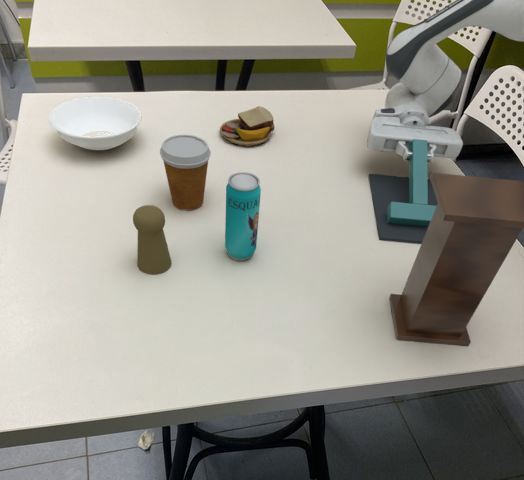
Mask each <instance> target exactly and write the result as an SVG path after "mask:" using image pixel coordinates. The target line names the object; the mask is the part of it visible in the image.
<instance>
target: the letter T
mask: <svg viewBox="0 0 524 480" xmlns="http://www.w3.org/2000/svg"><path fill="white" fill-rule="evenodd" d="M409 149H412V152H413V155H412V157H411V161H408V177H409V203H400V202H391V203H390V204H389V206H388V208H387V223H392V224H403V225H414V226H425V227H428V226H429V224H430V221H431V219H432V216H433V214H434V211H435V209H436V206H433V205H428V179H429V178H428V176H429V175H428V163H427V140H418V139H413V141H412V142H411V144H410V146H409Z"/></svg>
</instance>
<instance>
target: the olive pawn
mask: <svg viewBox="0 0 524 480" xmlns="http://www.w3.org/2000/svg"><path fill="white" fill-rule="evenodd" d="M132 223H133V226H134V228H135V229H136V230H137V252H136V253H137V255H136V258H137V262H136V264H137V265H136V266H137V268H138V270H140V271H141V273H144V274H146V275H160V274H164V273H166V272H167V271H169V269H171V266H172V264H173V263H172V258H171V254H170V251H169V245H168V243H167V239H166V235H165V231H164V228H165V226H166V215H165V213H164V211H163V210H162V209H161V208H160V207H158V206H156V205H153V204H152V205H151V204H147V205H142V206H140V207H137V209H135V210H134V212H133V215H132Z"/></svg>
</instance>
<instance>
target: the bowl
mask: <svg viewBox="0 0 524 480" xmlns="http://www.w3.org/2000/svg"><path fill="white" fill-rule="evenodd" d="M142 119H143V116H142V112H141V110H140V109H139V107H137V106H136V105H135V104H133V103H131V102H130V101H127V100H124V99H121V98H118V97H112V96H104V95H103V96H101V95H97V96H96V95H93V96H82V97H77V98H72V99H69V100H66V101H64V102H62V103H61V102H60V103H59V104H58V105H56V106H55V107H54V108H53V109H52V110H50V112H49V114H48V123H49V125H50V126H51V128H53V129H54V130H55V131H57V133H58V135H59V136H60V137H61V138H62V139H63V140H64V141H66V142H67V143H69V144H72V145H74V146H77V147H80V148H82V149H86V150H91V151H106V150H107V151H108V150H111V149H115V148H117V147H118V146H121V145H122V144H125V142H128V141H129V140H130V139H131V138H133V137H134V136H135V134H136V132H137V128H138V126H139V125H140V123H141V121H142ZM91 131H92V132H93V131H94V132H95V131H108V133H109V132H111V133H110V134H108V133H106V134H107V136H106V134H104V135H105V136H104V135H103V133H104V132H103V133H102V135H103V136H101V135H100V133H101V132H100V133H98V134H99V135H100V136H95V137H90V136H82V135H84V134H86V133H90V132H91ZM112 133H114V134H112ZM98 134H97V135H98ZM111 134H112V135H111Z"/></svg>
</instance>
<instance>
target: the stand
mask: <svg viewBox="0 0 524 480" xmlns="http://www.w3.org/2000/svg"><path fill="white" fill-rule="evenodd" d="M429 179H430V180H431V184H432V187H433V190H434V193H435V196H436V199H437V202H438V204H437V206H436V209H435V211H434V214H433V216H432V219H431V221H430V224H429V226H428V229H427V232H426V234H425V237H424V239H423V242H422V244H421V245H420V247H419V249H418V252H417V255H416V257H415V259H414V262H413V265H412V267H411V270H410V272H409V274H408V277H407V279H406V282H405V284H404V287H403V290H402V292H401V293H400V294H399V293H398V294H397V293H390V294H389V297H388V298H389V299H388V300H389V304H390V305H389V306H390V308H391V315H392V321H393V327H394V333H395V339H396V340H397V341H407V342H419V343H429V344H440V345H454V346H465V347H469V346H470V344H471V342H472V341H471V338H470V335H469V332H468V327H467V326H468V325H469V323H470V321H471V319H472V318H473V316H474V314H475V312H476V311H477V309H478V308H479V305H480V304H481V302H482V301H483V299H484V297H485V295H486V293H487V292H488V290H489V288H490V286H491V285H492V283H493V281H494V279H495V278H496V276H497V274H498V273H499V271H500V269H501V267H502V265H503V263H504V262H505V260H506V259H507V257H508V255H509V253H510V252H511V250H512V248H513V246H514V244H515V243H516V241H517V239H518V237H519V236H520V234H521V232H522V230H523V229H524V181H522V180H512V179H502V178H491V177H482V176H472V175H461V174H450V173H439V172H431V174H430V178H429Z"/></svg>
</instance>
